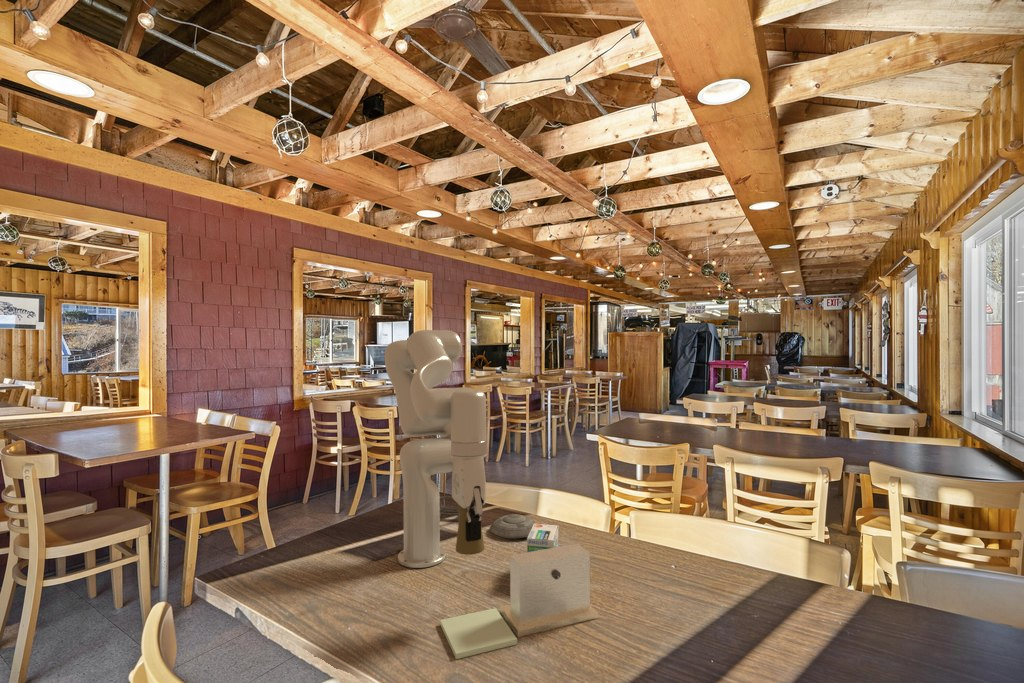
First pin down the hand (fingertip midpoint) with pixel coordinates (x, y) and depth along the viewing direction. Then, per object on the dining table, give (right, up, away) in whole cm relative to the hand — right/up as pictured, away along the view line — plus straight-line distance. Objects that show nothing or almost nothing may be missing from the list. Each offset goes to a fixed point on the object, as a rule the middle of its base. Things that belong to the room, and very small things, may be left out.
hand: (470, 535), depth 104 cm
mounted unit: (+16, -17, 0) cm, 23 cm away
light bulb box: (+17, -17, +18) cm, 30 cm away
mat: (+2, -17, -7) cm, 18 cm away
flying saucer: (+10, -18, +47) cm, 51 cm away
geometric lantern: (-12, -18, +62) cm, 66 cm away
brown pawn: (0, -3, 0) cm, 3 cm away
